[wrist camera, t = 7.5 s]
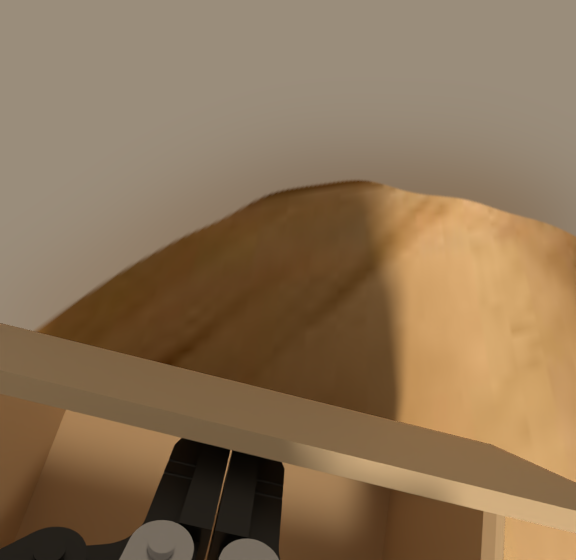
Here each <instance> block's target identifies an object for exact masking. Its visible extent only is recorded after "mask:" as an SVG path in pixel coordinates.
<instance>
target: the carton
mask: <svg viewBox="0 0 576 560" xmlns="http://www.w3.org/2000/svg"><path fill="white" fill-rule="evenodd" d="M180 439H181V438H180V437H176V436H172V435H168V434H164V433H160V432H156V431H152V430H148V429H143V428H139V427H135V426H131V425H127V424H123V423H119V422H115V421H110V420H106V419H102V418H98V417H94V416H90V415H86V414H82V413H78V412H73V411H69V410H65V409H61V408H57V407H53V406H49V405H45V404H40V403H36V402H32V401H28V400H24V399H20V398H16V397H12V396H7V395H3V394H0V549H1V548H3V547H5V546H7V545H9V544H11V543H13V542H15V541H17V540H19V539H21V538H23V537H25V536H27V535H29V534H31V533H33V532H35V531H37V530H40V529H43V528H48V527H65V528H69V529H72V530H74V531H76V532H77V533H78V534H80V535H81V537H82V538H83V539H84V541H85V543H86V546H87V545H99V544H109V543H114V542H118V541H121V540H123V539H126V538H127V537H129V536H131V535H132V534H133V533H134V532H135V531H136V530H137V529H138V528H139V527H141V525H142V524H143V522H144V520H145V518H146V516H147V513H148V511H149V508H150V506H151V503H152V501H153V498H154V496H155V493H156V491H157V488H158V485H159V483H160V480H161V478H162V475H163V474H164V470H165V468H166V465H167V463H168V461H169V458H170V455H171V453H172V450H173V447H174V445H175V444H176V443H177V442H178V441H179V440H180ZM231 453H232V450H230V454H229V458H228V463H227V467H226V471H225V476H224V480H223V484H222V489H221V493H220V497H219V502H218V506H217V510H216V515H215V519H214V523H213V528H212V532H211V536H210V540H209V544H208V548H207V552H206V556H205V560H207V556H208V552H209V547H210V543H211V539H212V534H213V530H214V525H215V521H216V517H217V512H218V508H219V503H220V499H221V495H222V490H223V486H224V482H225V477H226V473H227V469H228V465H229V461H230V457H231ZM282 464H283V466H284V469H285V471H284V485H283V497H282V512H281V525H280V539H279V556H280V560H504V537H505V516H502V515H498V514H493V513H489V512H485V511H481V510H477V509H473V508H469V507H465V506H461V505H456V504H452V503H448V502H444V501H440V500H436V499H432V498H428V497H423V496H419V495H415V494H411V493H407V492H403V491H399V490H395V489H391V488H386V487H382V486H378V485H374V484H370V483H366V482H362V481H358V480H353V479H349V478H345V477H341V476H337V475H333V474H329V473H325V472H321V471H316V470H312V469H308V468H304V467H300V466H296V465H292V464H288V463H283V462H282Z"/></svg>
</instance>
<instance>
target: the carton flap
mask: <svg viewBox="0 0 576 560" xmlns="http://www.w3.org/2000/svg"><path fill="white" fill-rule="evenodd" d="M0 394H3V395H7V396H12V397H16V398H20V399H24V400H28V401H32V402H36V403H40V404H45V405H49V406H53V407H57V408H61V409H65V410H69V411H73V412H78V413H82V414H86V415H90V416H94V417H98V418H102V419H106V420H110V421H115V422H119V423H123V424H127V425H131V426H135V427H139V428H143V429H148V430H152V431H156V432H160V433H164V434H168V435H172V436H176V437H180V438H185V439H189V440H193V441H197V442H201V443H205V444H209V445H213V446H218V447H222V448H226V449H230V450H234V451H238V452H242V453H246V454H250V455H255V456H259V457H263V458H267V459H271V460H275V461H279V462H283V463H288V464H292V465H296V466H300V467H304V468H308V469H312V470H316V471H321V472H325V473H329V474H333V475H337V476H341V477H345V478H349V479H353V480H358V481H362V482H366V483H370V484H374V485H378V486H382V487H386V488H391V489H395V490H399V491H403V492H407V493H411V494H415V495H419V496H423V497H428V498H432V499H436V500H440V501H444V502H448V503H452V504H456V505H461V506H465V507H469V508H473V509H477V510H481V511H485V512H489V513H493V514H498V515H502V516H506V517H510V518H514V519H518V520H522V521H526V522H531V523H535V524H539V525H543V526H547V527H551V528H555V529H559V530H564V531H568V532H572V533H576V483H575V482H573V481H571V480H569V479H566V478H564V477H562V476H560V475H558V474H555V473H553V472H551V471H549V470H547V469H544V468H542V467H540V466H538V465H536V464H533V463H531V462H529V461H527V460H525V459H522V458H520V457H518V456H516V455H514V454H511V453H509V452H507V451H505V450H503V449H500V448H498V447H496V446H494V445H491V444H487V443H483V442H479V441H475V440H471V439H467V438H463V437H459V436H455V435H451V434H447V433H443V432H439V431H435V430H431V429H427V428H423V427H419V426H415V425H410V424H406V423H402V422H398V421H394V420H390V419H386V418H382V417H378V416H374V415H370V414H366V413H362V412H358V411H354V410H350V409H346V408H342V407H338V406H334V405H330V404H326V403H322V402H317V401H313V400H309V399H305V398H301V397H297V396H293V395H289V394H285V393H281V392H277V391H273V390H269V389H265V388H261V387H257V386H253V385H249V384H245V383H241V382H237V381H233V380H229V379H224V378H220V377H216V376H212V375H208V374H204V373H200V372H196V371H192V370H188V369H184V368H180V367H176V366H172V365H168V364H164V363H160V362H156V361H152V360H148V359H144V358H140V357H136V356H131V355H127V354H123V353H119V352H115V351H111V350H107V349H103V348H99V347H95V346H91V345H87V344H83V343H79V342H75V341H71V340H67V339H63V338H59V337H55V336H51V335H47V334H42V333H38V332H34V331H30V330H26V329H22V328H18V327H14V326H10V325H6V324H2V323H0Z"/></svg>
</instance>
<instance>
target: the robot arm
mask: <svg viewBox="0 0 576 560" xmlns="http://www.w3.org/2000/svg"><path fill="white" fill-rule="evenodd" d="M229 454H230V449H226V448H222V447H218V446H213V445H209V444H205V443H201V442H197V441H193V440H189V439H185V438H181V439H180V440H179V441H178V442H177V443H176V444H175V445H174V447H173V450H172V453H171V455H170V458H169V461H168V463H167V465H166V468H165V470H164V474H163V475H162V478H161V480H160V483H159V485H158V488H157V491H156V493H155V496H154V498H153V501H152V503H151V506H150V508H149V511H148V513H147V516H146V518H145V520H144V522H143V524H142V525H141V527H139V528H138V529H137V530H136V531H135V532H134V533H133V534H132V535H131V536H129V537H127V538H126V539H123V540H121V541H118V542H114V543H109V544H99V545H87V546H86V543H85V541H84V539H83V538H82V537H81V535H80V534H78V533H77V532H76V531H74V530H72V529H69V528H65V527H48V528H43V529H40V530H37V531H35V532H33V533H31V534H29V535H27V536H25V537H23V538H21V539H19V540H17V541H15V542H13V543H11V544H9V545H7V546H5V547H3V548H1V549H0V560H205V556H206V552H207V548H208V544H209V540H210V536H211V532H212V528H213V523H214V519H215V515H216V510H217V506H218V502H219V497H220V493H221V489H222V484H223V480H224V476H225V471H226V467H227V463H228V458H229ZM284 471H285V469H284V466H283V464H282V462H279V461H275V460H271V459H267V458H263V457H259V456H255V455H250V454H246V453H242V452H238V451H234V450H232V453H231V457H230V461H229V465H228V469H227V473H226V477H225V482H224V486H223V490H222V495H221V499H220V503H219V508H218V512H217V517H216V521H215V525H214V530H213V534H212V539H211V543H210V547H209V552H208V556H207V560H280V556H279V539H280V525H281V512H282V497H283V485H284Z"/></svg>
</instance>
